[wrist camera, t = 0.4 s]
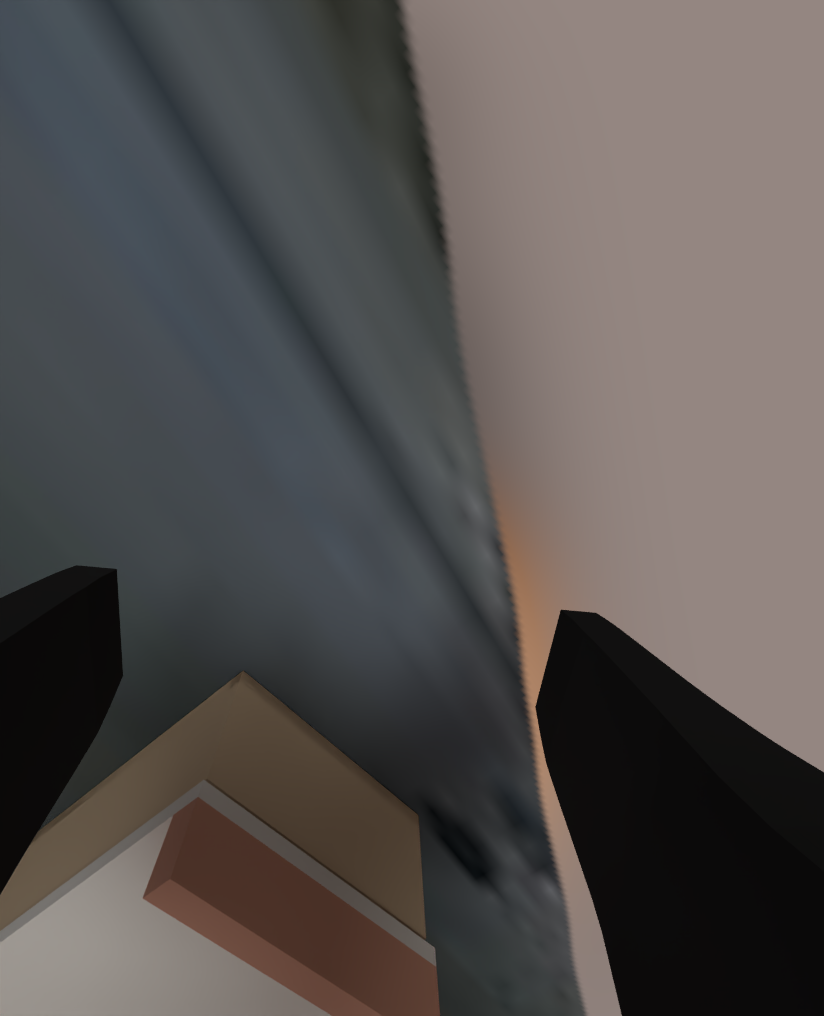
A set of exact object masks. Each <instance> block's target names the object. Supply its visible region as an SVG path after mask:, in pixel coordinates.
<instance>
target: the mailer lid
mask: <svg viewBox="0 0 824 1016" xmlns="http://www.w3.org/2000/svg"><path fill="white" fill-rule="evenodd" d="M0 1016H440V1010H439V997H438V983H437V970H436V956H435V948H434V947H433V946H432V945H430V944H429V943H428V942H426V941H425V940H423V939H422V938H421V937H419V936H418V935H417V934H415V933H414V932H412V931H411V930H410V929H408V928H407V927H406V926H404V925H403V924H401V923H400V922H399V921H397V920H396V919H395V918H393V917H392V916H390V915H389V914H388V913H386V912H385V911H384V910H382V909H381V908H379V907H378V906H377V905H375V904H374V903H373V902H371V901H370V900H368V899H367V898H366V897H364V896H363V895H362V894H360V893H359V892H357V891H356V890H355V889H353V888H352V887H351V886H349V885H348V884H347V883H345V882H344V881H342V880H341V879H340V878H338V877H337V876H336V875H334V874H333V873H331V872H330V871H329V870H327V869H326V868H325V867H323V866H322V865H320V864H319V863H318V862H316V861H315V860H314V859H312V858H311V857H309V856H308V855H307V854H305V853H304V852H303V851H301V850H300V849H298V848H297V847H296V846H294V845H293V844H292V843H290V842H289V841H287V840H286V839H285V838H283V837H282V836H281V835H279V834H278V833H276V832H275V831H274V830H272V829H271V828H270V827H268V826H267V825H265V824H264V823H263V822H261V821H260V820H259V819H257V818H256V817H255V816H253V815H252V814H250V813H249V812H248V811H246V810H245V809H244V808H242V807H241V806H239V805H238V804H237V803H235V802H234V801H233V800H231V799H230V798H228V797H227V796H226V795H224V794H223V793H222V792H220V791H219V790H217V789H216V788H215V787H213V786H212V785H211V784H209V783H208V782H206V781H205V780H203V781H201V782H200V783H199V784H197V785H196V786H195V787H193V788H192V789H190V790H189V791H188V792H186V793H185V794H184V795H182V796H181V797H180V798H178V799H177V800H176V801H174V802H173V803H172V804H170V805H169V806H168V807H166V808H165V809H164V810H162V811H161V812H160V813H158V814H157V815H156V816H154V817H153V818H152V819H150V820H149V821H147V822H146V823H145V824H143V825H142V826H141V827H139V828H138V829H137V830H135V831H134V832H133V833H131V834H130V835H129V836H127V837H126V838H125V839H123V840H122V841H121V842H119V843H118V844H117V845H115V846H114V847H113V848H111V849H110V850H109V851H107V852H106V853H104V854H103V855H102V856H100V857H99V858H98V859H96V860H95V861H94V862H92V863H91V864H90V865H88V866H87V867H86V868H84V869H83V870H82V871H80V872H79V873H78V874H76V875H75V876H74V877H72V878H71V879H70V880H68V881H67V882H66V883H64V884H63V885H61V886H60V887H59V888H57V889H56V890H55V891H53V892H52V893H51V894H49V895H48V896H47V897H45V898H44V899H43V900H41V901H40V902H39V903H37V904H36V905H35V906H33V907H32V908H31V909H29V910H28V911H27V912H25V913H24V914H23V915H21V916H20V917H18V918H17V919H16V920H14V921H13V922H12V923H10V924H9V925H8V926H6V927H5V928H4V929H2V930H1V931H0Z"/></svg>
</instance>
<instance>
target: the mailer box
mask: <svg viewBox="0 0 824 1016" xmlns="http://www.w3.org/2000/svg"><path fill="white" fill-rule="evenodd" d="M203 780H205V781H206V782H208V783H209V784H211V785H212V786H213V787H215V788H216V789H217V790H219V791H220V792H222V793H223V794H224V795H226V796H227V797H228V798H230V799H231V800H233V801H234V802H235V803H237V804H238V805H239V806H241V807H242V808H244V809H245V810H246V811H248V812H249V813H250V814H252V815H253V816H255V817H256V818H257V819H259V820H260V821H261V822H263V823H264V824H265V825H267V826H268V827H270V828H271V829H272V830H274V831H275V832H276V833H278V834H279V835H281V836H282V837H283V838H285V839H286V840H287V841H289V842H290V843H292V844H293V845H294V846H296V847H297V848H298V849H300V850H301V851H303V852H304V853H305V854H307V855H308V856H309V857H311V858H312V859H314V860H315V861H316V862H318V863H319V864H320V865H322V866H323V867H325V868H326V869H327V870H329V871H330V872H331V873H333V874H334V875H336V876H337V877H338V878H340V879H341V880H342V881H344V882H345V883H347V884H348V885H349V886H351V887H352V888H353V889H355V890H356V891H357V892H359V893H360V894H362V895H363V896H364V897H366V898H367V899H368V900H370V901H371V902H373V903H374V904H375V905H377V906H378V907H379V908H381V909H382V910H384V911H385V912H386V913H388V914H389V915H390V916H392V917H393V918H395V919H396V920H397V921H399V922H400V923H401V924H403V925H404V926H406V927H407V928H408V929H410V930H411V931H412V932H414V933H415V934H417V935H418V936H419V937H421V938H422V939H423V940H425V939H426V930H425V914H424V898H423V882H422V865H421V849H420V833H419V817H418V815H417V814H416V813H415V812H414V811H413V810H411V809H410V808H409V807H408V806H407V805H405V804H404V803H403V802H402V801H401V800H399V799H398V798H397V797H396V796H394V795H393V794H392V793H391V792H390V791H388V790H387V789H386V788H385V787H384V786H382V785H381V784H380V783H379V782H378V781H376V780H375V779H374V778H373V777H371V776H370V775H369V774H368V773H367V772H365V771H364V770H363V769H362V768H361V767H359V766H358V765H357V764H356V763H355V762H353V761H352V760H351V759H350V758H349V757H347V756H346V755H345V754H344V753H342V752H341V751H340V750H339V749H338V748H336V747H335V746H334V745H333V744H332V743H330V742H329V741H328V740H327V739H326V738H324V737H323V736H322V735H321V734H319V733H318V732H317V731H316V730H315V729H313V728H312V727H311V726H310V725H309V724H307V723H306V722H305V721H304V720H303V719H301V718H300V717H299V716H298V715H296V714H295V713H294V712H293V711H292V710H290V709H289V708H288V707H287V706H286V705H284V704H283V703H282V702H281V701H280V700H278V699H277V698H276V697H275V696H274V695H272V694H271V693H270V692H269V691H267V690H266V689H265V688H264V687H263V686H261V685H260V684H259V683H258V682H257V681H255V680H254V679H253V678H252V677H251V676H249V675H248V674H247V673H246V672H244V671H242V672H241V673H239V674H238V675H237V676H236V677H234V678H233V679H232V680H230V681H229V682H228V683H227V684H225V685H224V686H223V687H222V688H220V689H219V690H218V691H216V692H215V693H214V694H213V695H211V696H210V697H209V698H208V699H206V700H205V701H204V702H202V703H201V704H200V705H199V706H197V707H196V708H195V709H194V710H192V711H191V712H190V713H188V714H187V715H186V716H185V717H183V718H182V719H181V720H179V721H178V722H177V723H176V724H174V725H173V726H172V727H171V728H169V729H168V730H167V731H165V732H164V733H163V734H162V735H160V736H159V737H158V738H157V739H155V740H154V741H153V742H151V743H150V744H149V745H148V746H146V747H145V748H144V749H143V750H141V751H140V752H139V753H137V754H136V755H135V756H134V757H132V758H131V759H130V760H129V761H127V762H126V763H125V764H123V765H122V766H121V767H120V768H118V769H117V770H116V771H115V772H113V773H112V774H111V775H109V776H108V777H107V778H106V779H104V780H103V781H102V782H101V783H99V784H98V785H97V786H95V787H94V788H93V789H92V790H90V791H89V792H88V793H87V794H85V795H84V796H83V797H81V798H80V799H79V800H78V801H76V802H75V803H74V804H73V805H71V806H70V807H69V808H67V809H66V810H65V811H64V812H62V813H61V814H60V815H58V816H57V817H56V818H55V819H53V820H52V821H51V822H50V823H48V824H47V825H46V826H44V827H43V828H42V829H41V830H39V831H38V832H37V834H36V836H35V837H34V839H33V841H32V843H31V844H30V846H29V848H28V849H27V851H26V853H25V854H24V856H23V858H22V859H21V861H20V863H19V864H18V866H17V868H16V869H15V871H14V873H13V874H12V876H11V878H10V879H9V881H8V883H7V885H6V886H5V888H4V890H3V891H2V893H1V895H0V931H1V930H2V929H4V928H5V927H6V926H8V925H9V924H10V923H12V922H13V921H14V920H16V919H17V918H18V917H20V916H21V915H23V914H24V913H25V912H27V911H28V910H29V909H31V908H32V907H33V906H35V905H36V904H37V903H39V902H40V901H41V900H43V899H44V898H45V897H47V896H48V895H49V894H51V893H52V892H53V891H55V890H56V889H57V888H59V887H60V886H61V885H63V884H64V883H66V882H67V881H68V880H70V879H71V878H72V877H74V876H75V875H76V874H78V873H79V872H80V871H82V870H83V869H84V868H86V867H87V866H88V865H90V864H91V863H92V862H94V861H95V860H96V859H98V858H99V857H100V856H102V855H103V854H104V853H106V852H107V851H109V850H110V849H111V848H113V847H114V846H115V845H117V844H118V843H119V842H121V841H122V840H123V839H125V838H126V837H127V836H129V835H130V834H131V833H133V832H134V831H135V830H137V829H138V828H139V827H141V826H142V825H143V824H145V823H146V822H147V821H149V820H150V819H152V818H153V817H154V816H156V815H157V814H158V813H160V812H161V811H162V810H164V809H165V808H166V807H168V806H169V805H170V804H172V803H173V802H174V801H176V800H177V799H178V798H180V797H181V796H182V795H184V794H185V793H186V792H188V791H189V790H190V789H192V788H193V787H195V786H196V785H197V784H199V783H200V782H201V781H203Z"/></svg>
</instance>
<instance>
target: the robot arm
mask: <svg viewBox="0 0 824 1016" xmlns="http://www.w3.org/2000/svg"><path fill="white" fill-rule="evenodd" d="M122 677H123V669H122V652H121V635H120V617H119V600H118V583H117V569H110V568H99V567H88V566H77V565H76V566H74V567H71V568H68V569H65V570H62V571H60V572H57V573H55V574H53V575H50V576H48V577H46V578H43V579H41V580H39V581H37V582H35V583H32V584H30V585H28V586H26V587H24V588H21V589H19V590H17V591H15V592H13V593H11V594H8V595H6V596H4V597H2V598H0V894H1V892H2V890H3V889H4V887H5V885H6V883H7V881H8V880H9V878H10V876H11V874H12V873H13V871H14V869H15V868H16V866H17V864H18V863H19V861H20V859H21V858H22V856H23V855H24V853H25V851H26V850H27V848H28V846H29V845H30V843H31V842H32V840H33V838H34V837H35V835H36V833H37V832H38V830H39V829H40V827H41V825H42V824H43V822H44V820H45V819H46V817H47V816H48V814H49V812H50V811H51V809H52V807H53V806H54V804H55V803H56V801H57V799H58V798H59V796H60V794H61V793H62V791H63V790H64V788H65V786H66V785H67V783H68V782H69V780H70V778H71V777H72V775H73V773H74V772H75V770H76V768H77V767H78V765H79V763H80V762H81V760H82V758H83V757H84V755H85V753H86V752H87V750H88V748H89V747H90V745H91V743H92V742H93V740H94V738H95V737H96V735H97V733H98V731H99V729H100V727H101V725H102V723H103V720H104V718H105V716H106V714H107V712H108V709H109V707H110V705H111V703H112V700H113V698H114V696H115V693H116V691H117V688H118V686H119V684H120V681H121V679H122ZM536 712H537V718H538V724H539V730H540V735H541V740H542V745H543V750H544V754H545V758H546V763H547V767H548V769H549V773H550V776H551V779H552V782H553V785H554V788H555V791H556V794H557V797H558V800H559V803H560V806H561V809H562V812H563V815H564V818H565V821H566V824H567V827H568V830H569V832H570V835H571V838H572V841H573V844H574V847H575V850H576V853H577V856H578V859H579V862H580V865H581V868H582V871H583V874H584V877H585V879H586V882H587V885H588V888H589V891H590V894H591V897H592V900H593V903H594V907H595V910H596V914H597V917H598V920H599V924H600V927H601V930H602V934H603V938H604V942H605V947H606V951H607V954H608V959H609V963H610V967H611V972H612V976H613V980H614V984H615V988H616V992H617V997H618V1001H619V1005H620V1009H621V1014H622V1016H824V772H822V771H821V770H819V769H817V768H816V767H814V766H812V765H811V764H809V763H807V762H806V761H804V760H802V759H801V758H799V757H797V756H796V755H794V754H792V753H791V752H789V751H788V750H786V749H784V748H783V747H781V746H780V745H778V744H777V743H775V742H773V741H772V740H770V739H769V738H767V737H766V736H764V735H763V734H761V733H760V732H758V731H757V730H755V729H754V728H752V727H751V726H749V725H748V724H747V723H745V722H744V721H742V720H741V719H739V718H738V717H737V716H735V715H734V714H732V713H731V712H729V711H728V710H726V709H725V708H724V707H722V706H721V705H719V704H718V703H717V702H715V701H714V700H712V699H711V698H710V697H708V696H707V695H706V694H704V693H702V692H701V691H700V690H699V689H697V688H696V687H695V686H693V685H692V684H691V683H689V682H688V681H687V680H685V679H684V678H683V677H681V676H680V675H679V674H677V673H676V672H675V671H674V670H672V669H671V668H670V667H668V666H667V665H666V664H665V663H663V662H662V661H661V660H659V659H658V658H657V657H655V656H654V655H653V654H651V653H650V652H649V651H648V650H646V649H645V648H644V647H643V646H641V645H640V644H639V643H637V642H636V641H635V640H634V639H632V638H631V637H630V636H628V635H627V634H626V633H624V632H623V631H622V630H620V629H619V628H617V627H616V626H615V625H614V624H612V623H610V622H609V621H608V620H606V619H605V618H603V617H602V616H600V615H599V614H597V613H590V612H580V611H569V610H561V611H560V615H559V619H558V623H557V627H556V630H555V634H554V638H553V642H552V646H551V649H550V653H549V657H548V661H547V665H546V669H545V672H544V676H543V680H542V684H541V688H540V692H539V695H538V699H537V704H536Z"/></svg>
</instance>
